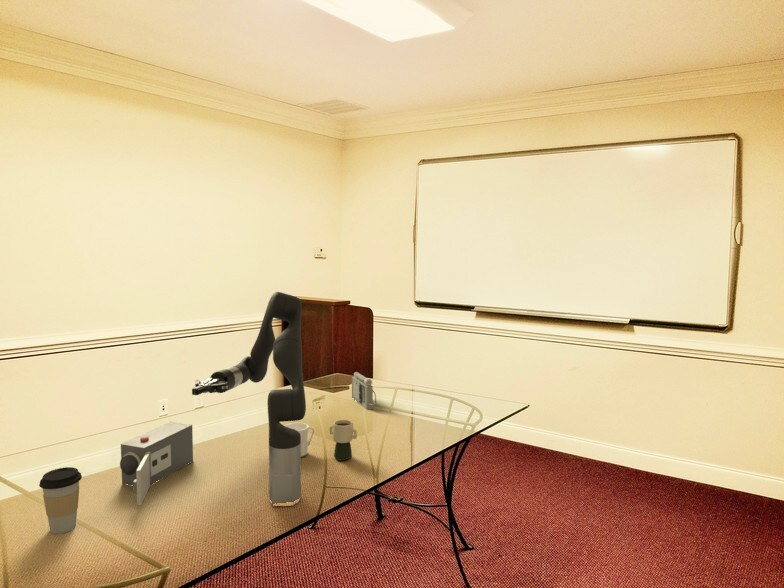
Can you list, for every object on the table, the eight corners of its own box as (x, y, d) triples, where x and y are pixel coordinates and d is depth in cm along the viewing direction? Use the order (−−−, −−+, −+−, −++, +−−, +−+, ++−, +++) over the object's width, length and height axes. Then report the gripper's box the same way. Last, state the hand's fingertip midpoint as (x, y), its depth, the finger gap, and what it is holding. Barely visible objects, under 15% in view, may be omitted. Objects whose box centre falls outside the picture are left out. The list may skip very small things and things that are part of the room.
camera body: (171, 457, 184) (170, 419, 183) (194, 461, 181) (193, 422, 180) (116, 487, 161) (115, 443, 160) (141, 492, 158) (140, 447, 157)
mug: (284, 460, 183) (284, 432, 182) (282, 450, 192) (282, 423, 191) (315, 457, 186) (315, 429, 185) (312, 448, 194) (312, 421, 194)
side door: (142, 505, 148) (141, 469, 147) (133, 505, 147) (132, 470, 147) (152, 484, 161) (151, 451, 160) (143, 484, 160) (142, 452, 159)
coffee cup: (75, 515, 144) (73, 462, 143) (89, 527, 138) (87, 472, 137) (36, 529, 137) (33, 474, 136) (49, 542, 131) (46, 485, 130)
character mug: (361, 457, 187) (361, 421, 185) (351, 464, 180) (351, 428, 179) (334, 452, 191) (335, 417, 190) (324, 459, 185) (324, 423, 184)
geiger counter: (349, 370, 257) (368, 383, 235) (361, 369, 260) (381, 381, 238) (349, 398, 259) (368, 413, 236) (361, 396, 261) (381, 411, 239)
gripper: (210, 367, 183) (176, 378, 167) (243, 370, 179) (211, 382, 163) (210, 388, 184) (176, 401, 167) (243, 391, 180) (212, 405, 163)
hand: (194, 392), depth 165 cm, fingers closed
